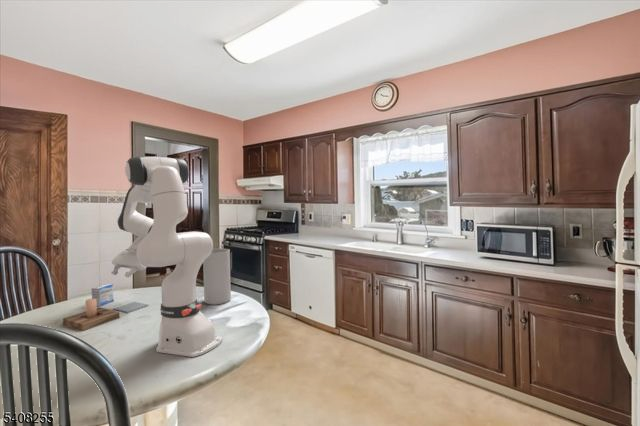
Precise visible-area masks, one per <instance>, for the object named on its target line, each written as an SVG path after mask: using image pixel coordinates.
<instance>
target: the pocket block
mask: <svg viewBox="0 0 640 426" xmlns="http://www.w3.org/2000/svg"><path fill="white" fill-rule="evenodd" d="M119 318H120V311H117V310H114V309H113V310H112V309H108V308H103V307H101V306H97V316H96V317H93V318H90V319H86V311H83V312H80V313H76V314H72V315H70V316H66V317H63V318H62V325H63V326H67V327H70V328H72V329H76V330H79V331H82V332H83V331H86V330H89V329H90V330H91V329H93V328H95V327H98V326H100V325H103V324H106V323H108V322H111V321H114V320H116V319H119Z"/></svg>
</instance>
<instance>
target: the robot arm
mask: <svg viewBox="0 0 640 426" xmlns="http://www.w3.org/2000/svg"><path fill="white" fill-rule="evenodd" d="M124 173H125V176H126V178H127V180H128V182H129V183H130V184H132V186H131V187H129V189H128V190H127V192H126V195H125V198H124V201H123V205H122V209H121V212H120V214H119V216H118V218H117V222H116V223H117V225H118V228H119V229H120V230H121V231H124V232H128V233H130V234H131V235H135V236H137V238H135V239H134V241H133V242H132V243H131V244H130V246H129V247H128V248H126V249H124V250H121V251H120V252H119V253H118V254H117V255H116V256H115V257H114V258H113V259H112V260H111V264H112V265H113V269H112V271H111V274H112V275H113V276H117V275H118V274H119V272H118V271H119V270H120V269H121V268H125V269H130V270H129V271H127V272H126V273H124V277H126V278H131V276H132V275H133V274H135V273H136V272H137V271H144V270H146V269H147V268H162V267H163V268H164V267H167V266H174V265H175V268H174V269H173V271H171V273H170V274H168V275H167V276H166V277H165V278H164V279H163V281H162V283H161V304H160V315H161V321H160V325H159V329H158V330H159V331H158V332H159V333H158V342H157V347H156V349H155V351H156V353H163V354H170V355H176V356H184V357H193V358H194V357H198V356H201V355H204V354H206V353H207V352H210V351H211V350H213V349H215V348H216V347H218V346H219V345H221V343H222V341H223V336H221V335H219V334H216V328H215V326H214V323H213V322H212V321H211V319H209V318H207V316H206V315H205V314H204V313H202V312H201V308H202V307H203V306H202V303H199V302H198V300H197V298H196V296H197V295H196V290H197V287H196V286H197V277H198V274H199V271H200V268H201V267H202V265H203V262H204V260H205V259H206V258H207V257H208V256H209V255H210V254H211V252H212V250H213V249H214V241H213V239H212V237H211V236H210V234H208V233H207V232H203V231H184V232H177V225H178V224H180V223H181V222H183V221H185V219H186V218H187V217H188V214H189V210H188V204H187V198H186V192H185V188H184V184H185V183H187V181H188V179H189V176H190V175H189V174H190V170H189V166H188V163H187V162H186V161H185V160H184V158H183V159H182V158H180V157H179V158H178V157H174V158H172V157H165V156H163V157H162V156H161V157H160V156H144V157H139V156H133V157H130V158H128V159H127V161H126V163H125V166H124ZM138 203H143V204H152V211H153V218H151V217H148V216H146V215H144V214H142V213H140V212H138V211H137V210H136V209H137V205H138Z"/></svg>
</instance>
